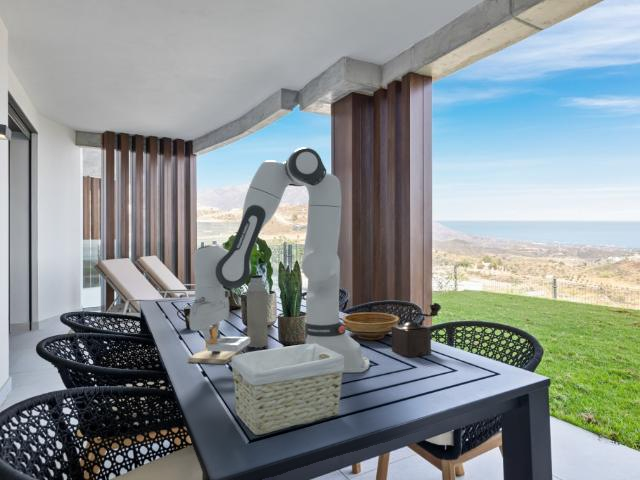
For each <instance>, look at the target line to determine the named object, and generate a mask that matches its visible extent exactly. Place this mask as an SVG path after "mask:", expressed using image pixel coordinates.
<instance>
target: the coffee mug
mask: <svg viewBox="0 0 640 480" xmlns="http://www.w3.org/2000/svg"><path fill="white" fill-rule="evenodd" d="M191 307H192V305H187V306H184V307H183V309H179V310H177V312H176V315H177V317H178V318H179V319H180V320H181V321H183V322H185V328H186V329H187V330H191V329H190V309H191ZM180 311H181V312H183V313H184V318H183V317H181V315H179V312H180Z"/></svg>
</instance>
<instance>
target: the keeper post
mask: <svg viewBox="0 0 640 480" xmlns="http://www.w3.org/2000/svg"><path fill="white" fill-rule="evenodd" d="M220 337H221V332H220V330H219V329H218V336H217V339H218V338H220ZM238 354H243V348H242V349H241V350H239V351H238V352H234V351H208V349H207V348H206V347H205V348H204V349H201V350H200V351H198V352H196V353H195V354H192V355H191V356H189V357H188V363H202V364H203V363H204V364H221V365H226V364H228V363H229V362H230V361H231V362H232V356H234V355H238Z"/></svg>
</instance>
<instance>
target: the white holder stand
mask: <svg viewBox="0 0 640 480" xmlns="http://www.w3.org/2000/svg"><path fill="white" fill-rule="evenodd" d="M209 332H210V334H211V337H212V339H211V340H209V341H205V348H207V349H208V351H234V352H238V351H239V350H241V349H242V350H243V348H245V347H248V344H250V337H247V336H220V338H218V339H217V330H216V327H212V326H210V330H209Z"/></svg>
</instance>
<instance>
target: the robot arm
mask: <svg viewBox="0 0 640 480" xmlns="http://www.w3.org/2000/svg"><path fill="white" fill-rule="evenodd" d="M288 186H291V187H305V188H306V189H307V193H308V202H307V203H308V204H307V205H308V206H307V224H306V235H305V240H304V247H303V252H302V253H303V254H302V255H303V256H302V263H301V264H302V265H301V270H302V273H303V274H304V276H305V278H307V287H306V288H307V290H306V296H305V318H306V319H305V321H306V322H305V323H304V336H305V344H318V345H320V346H323V347H325V348H327V349H330V350H332V351H334V352H336V353H338V354H340V355H343V356H344V370H343V373H344V374H346V373H363V372H366V371H367V370H368V369H369V368H370V359H369V358H367V357H365V356H364V354H363V350H362V349H363V348H362V346H361V345H360V343H359V342H357V341H356V340H355V339H354V338H352V337H351V336H349V335H348V334H347V333H346V327H345V323H343V322H341V321H340V300H339V299H340V283H341V282H340V279H341V278H340V276H341V275H340V274H341V272H340V270H341V267H340V266H341V261H340V257H339V255H338V250H339V249H338V248H339V240H340V233H341V219H342V218H341V217H342V189H341V182H340V179H339V178H338V177H337V176H336V175H335V174H332V173H328V172H327V169H326V166H325V165H324V163H323V161H322V158H321V156H320V155H319V153H318V152H317V151H316V150H314V149H313V148H310V147H299V148H297V149H296V150H294V151H293V152H292V153H291V154H290V155H289V156H288V157H287V159H286V160H285V161H284V162H279V161H277V160H272V159H271V160H269V159H268V160H265V161H262V163H261V164H260V165H259V167H258V169H257V170H256V172H255V173H254V176H253V178H252V180H251V182H250V184H249V187H248V189H247V192H246V196H245V199H244V204H243V208H242V216H241V221H240V224H239V227H238V229H237V232H236V235H235V237H234V239H233V242H232V245H231V247H230V249H229V250H227V249H226V248H224V247H222V246H220V245H219V244H216V243H215V244H214V243H213V244H208V245H204V246H200V247H198V248H197V249H196V250H195V251H194V255H193V275H194V278H195V282H194V300H193V303H192V304H191V306H192V307H191V309H190V329H189V330H191V331H193V332H194V331H198V332H199V331H201V332H202V334H203V338H204V341H205V342H206V341H209V340H211V339H212V337H211V334H210V332H209V330H210V327H216V330H217V336H218V330H219V328H220V322H222V321H224V320H226V319H228V318H229V315H230V300H229V297H230V291H229V289H238V288H241V287H243V286H244V285H245V284H246V283H247V281H249V278H250V276H251V273H252V263H251V261H250V259H251V255H252V253H253V250H254V247H255V245H256V243H257V240H258V237H259V235H260V233H261V231H262V229H264V227H265V225H266V224H268V222H269V221H271V219H272V218H273V216H274V215H275V213H276V212H277V209H278V208H279V206H280V203H281V202H282V199H283V198H282V197H283V195H284V192H285V191H286V189H287V187H288ZM227 288H228V289H227ZM319 358H320V360H322V359H323V358H322V359H321V357H319Z"/></svg>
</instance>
